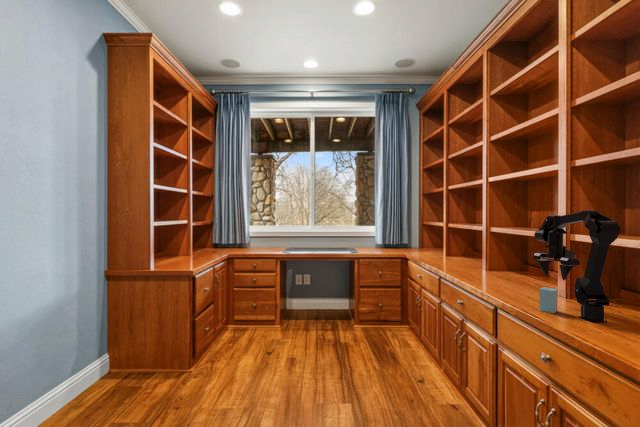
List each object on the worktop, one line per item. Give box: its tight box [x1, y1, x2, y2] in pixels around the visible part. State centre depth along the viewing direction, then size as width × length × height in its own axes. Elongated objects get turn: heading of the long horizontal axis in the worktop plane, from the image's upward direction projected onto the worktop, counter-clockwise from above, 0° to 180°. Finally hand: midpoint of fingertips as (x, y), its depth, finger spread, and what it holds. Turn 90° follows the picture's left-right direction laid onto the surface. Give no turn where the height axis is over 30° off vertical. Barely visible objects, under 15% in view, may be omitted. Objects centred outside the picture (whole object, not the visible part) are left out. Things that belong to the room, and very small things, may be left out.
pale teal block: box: [539, 286, 558, 314], centre depth 137 cm, size 5×5×9 cm
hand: (555, 277), depth 146 cm, fingers open, 9 cm apart
